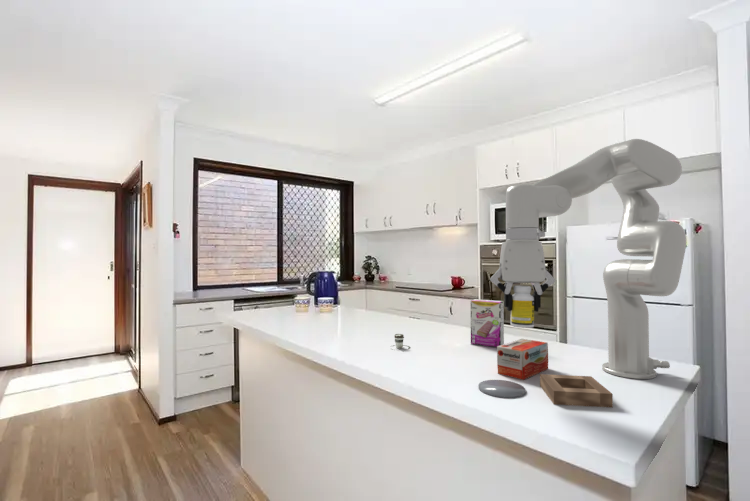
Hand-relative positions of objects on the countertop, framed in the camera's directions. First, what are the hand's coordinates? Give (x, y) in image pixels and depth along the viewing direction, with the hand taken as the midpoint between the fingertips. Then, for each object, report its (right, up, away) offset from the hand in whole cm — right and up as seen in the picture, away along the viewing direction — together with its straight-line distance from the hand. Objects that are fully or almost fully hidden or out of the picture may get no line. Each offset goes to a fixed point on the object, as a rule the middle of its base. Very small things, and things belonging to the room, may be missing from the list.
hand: (522, 309), depth 93 cm
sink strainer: (-27, -21, +45) cm, 57 cm away
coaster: (-5, -20, +1) cm, 21 cm away
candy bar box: (+5, -21, +47) cm, 52 cm away
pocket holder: (+11, -20, -3) cm, 23 cm away
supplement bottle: (0, -4, 0) cm, 4 cm away
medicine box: (+7, -20, +16) cm, 27 cm away
